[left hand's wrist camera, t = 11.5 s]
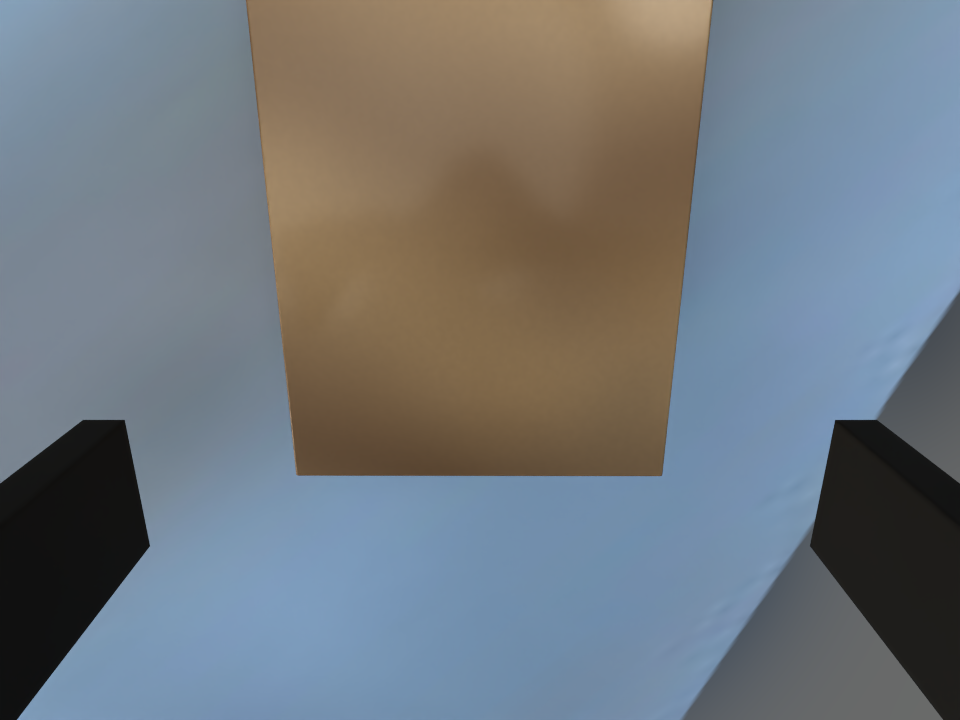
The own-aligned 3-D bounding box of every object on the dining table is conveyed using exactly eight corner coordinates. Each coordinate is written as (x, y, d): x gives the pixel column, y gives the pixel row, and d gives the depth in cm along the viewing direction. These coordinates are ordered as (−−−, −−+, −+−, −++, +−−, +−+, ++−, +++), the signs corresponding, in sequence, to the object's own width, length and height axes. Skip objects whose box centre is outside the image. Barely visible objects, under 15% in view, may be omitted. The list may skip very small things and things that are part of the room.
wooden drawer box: (325, -201, 24) (195, -464, 13) (635, -201, 24) (764, -464, 13) (360, 350, 32) (296, 476, 21) (598, 350, 32) (662, 476, 21)
